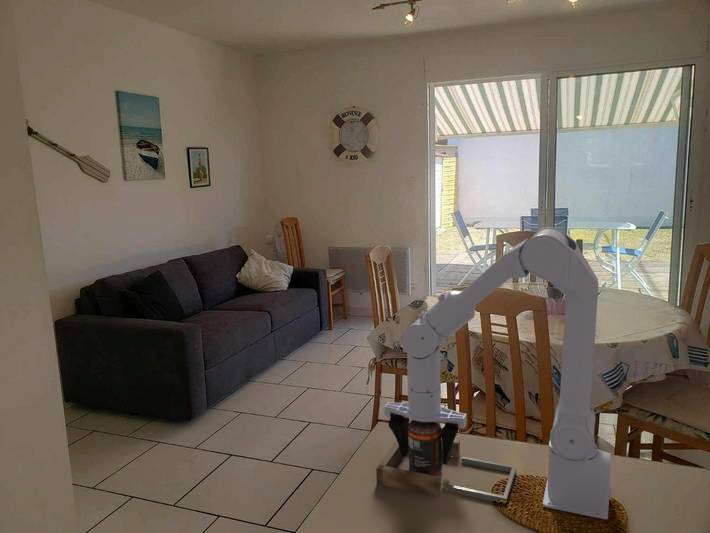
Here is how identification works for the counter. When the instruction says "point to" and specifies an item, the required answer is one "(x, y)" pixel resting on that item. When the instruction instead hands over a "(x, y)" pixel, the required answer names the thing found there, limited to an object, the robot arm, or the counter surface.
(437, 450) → the supplement bottle
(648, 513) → the counter surface
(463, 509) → the counter surface
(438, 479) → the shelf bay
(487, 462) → the slate bracket
